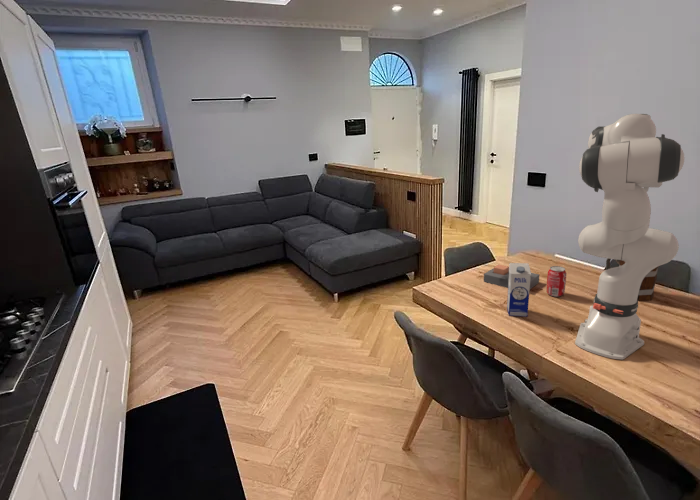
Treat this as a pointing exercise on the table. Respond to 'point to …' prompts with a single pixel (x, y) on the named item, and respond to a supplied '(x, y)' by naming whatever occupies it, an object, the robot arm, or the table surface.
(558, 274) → the soda can
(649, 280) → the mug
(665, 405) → the table surface
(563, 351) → the table surface
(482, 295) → the table surface
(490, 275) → the console
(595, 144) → the robot arm
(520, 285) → the milk carton
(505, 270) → the brick key
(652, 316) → the table surface
